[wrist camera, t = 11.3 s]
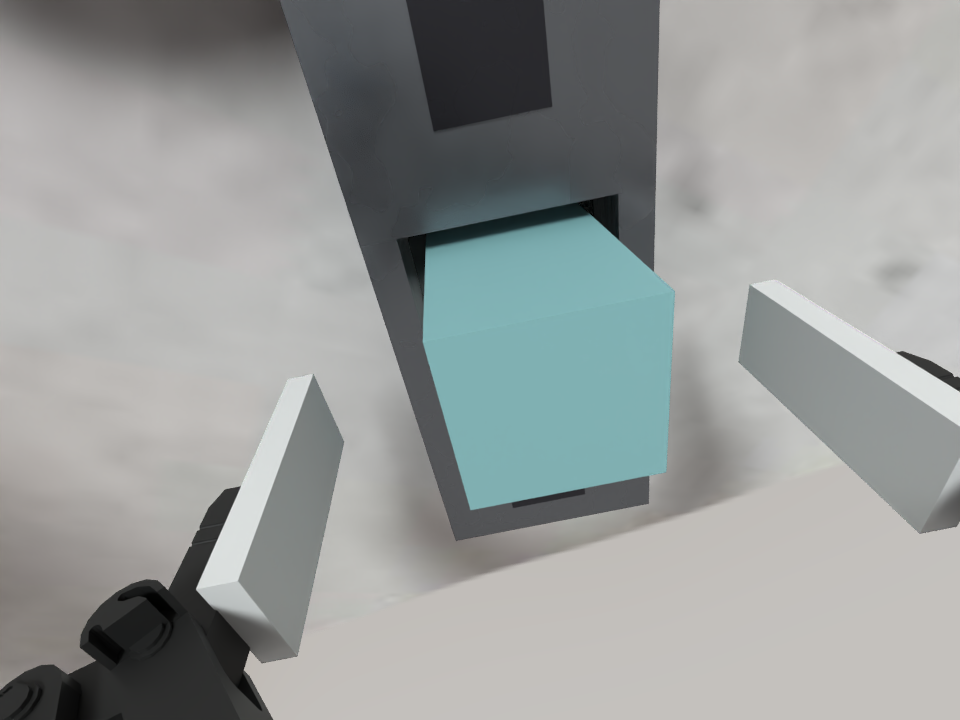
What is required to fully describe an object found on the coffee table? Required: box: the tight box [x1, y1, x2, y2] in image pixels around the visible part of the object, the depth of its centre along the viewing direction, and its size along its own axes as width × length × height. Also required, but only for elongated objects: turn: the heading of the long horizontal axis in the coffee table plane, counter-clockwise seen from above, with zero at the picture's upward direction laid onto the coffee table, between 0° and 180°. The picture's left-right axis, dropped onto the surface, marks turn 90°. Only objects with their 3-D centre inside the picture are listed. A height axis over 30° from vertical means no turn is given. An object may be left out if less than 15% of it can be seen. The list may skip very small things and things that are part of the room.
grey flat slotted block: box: [280, 0, 660, 541], centre depth 19 cm, size 24×10×3 cm, turn 10°
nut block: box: [423, 202, 675, 510], centre depth 16 cm, size 6×6×9 cm
